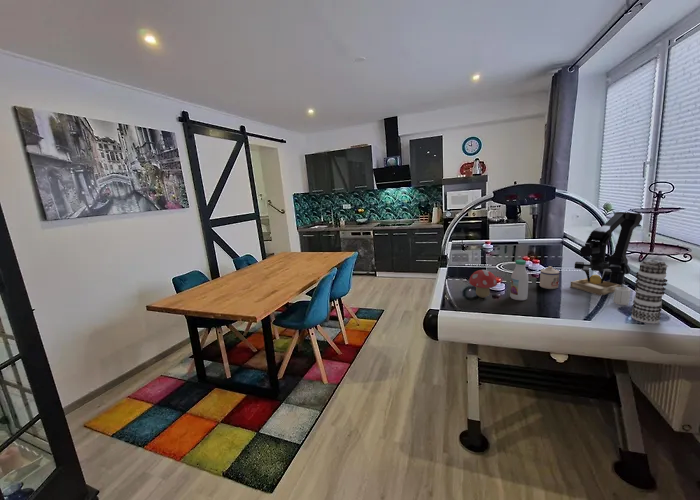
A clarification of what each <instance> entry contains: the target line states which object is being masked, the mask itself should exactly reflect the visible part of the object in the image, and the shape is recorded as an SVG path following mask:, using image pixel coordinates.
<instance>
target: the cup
mask: <svg viewBox="0 0 700 500" xmlns="http://www.w3.org/2000/svg"><path fill="white" fill-rule="evenodd" d="M630 296H631V289H630V288H629V287H628V288H627V287H624V286H623V287H621V286H620V287H616V288H615V291H614V292H613V299H612V302H613V303H614V304H616V305H619V306H628V305H629V304H630Z"/></svg>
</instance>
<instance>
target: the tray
mask: <svg viewBox="0 0 700 500" xmlns="http://www.w3.org/2000/svg"><path fill="white" fill-rule="evenodd" d="M621 285H622V284H621ZM621 285H619V284H614V283H610V282H607V280H606V281H605V280H604V281H603V283H601V282H600V283H599V284H593V283H591V282H590V281H589V282H588V279H587V277H586V278H582V279H577V280H572V281H570V285H569V287H570V288H573V289H575V290H576V289H577V290H579V291H584V292H588V293H591V294H595V295H597V296H605V295H608V294H611V293H614V291H615V288H616V287H621Z"/></svg>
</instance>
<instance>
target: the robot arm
mask: <svg viewBox="0 0 700 500" xmlns="http://www.w3.org/2000/svg"><path fill="white" fill-rule="evenodd" d="M642 220H643V215H642V214H641V213H640V212H630V211H626V210H625V211H622V210H621V211H620V210H618V211H615V212H614V214H613V216H611V218H609V220H607V221H606V222H605V223H604V224H603V225H602V226H599V227H596V228H594V229H593V230H592V231H591V232H590V234H589V236H588V238H587V239H586V241H585V243H584V245H583V246H581V248H579V251H580V254H581V256H583V257H587V258H588V257H590V261H589V264H588V263H587V264H586V263H585V262H584V261H575V263H574V269H575V270H581V271H582V272H584V273H585V275H586V278H587V279H588V282H589V281H590V277H591V275H590V270H591V271H593V272H594V271H595V272H596V271H597V272H603V273H602V276H601V279H602V280H601V283H603V281H605V280H606V278H607V276H608V275H609V274H610V276H609V279H608V280H606V282H610V283H614V284H619V285H626V283H625V282H626V281H625V275H629V274H630V272H631V270H632V269H631V268H630V266H629V265H628V263H629V260H628V257H627V256H626V255H627V252H628V249H629V245H630V242H631V240H632V239H631V238H632V237H633V236H632V235H633V233H634V232H633V231H634V229H636V228H637V227H639V225H640V223H641V222H642ZM619 226H620V231H619V235H618V239H617V242H616V246H615V249H614V252H613V253H612V255H611V254H610V255H609V256H607V260H606V252H607V246H609V245H610V243H609V242H610V240H611V238H612V236H613V234H612V233H613V232H614V230H616V229H617V228H618V227H619Z"/></svg>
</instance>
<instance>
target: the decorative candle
mask: <svg viewBox="0 0 700 500" xmlns="http://www.w3.org/2000/svg"><path fill="white" fill-rule="evenodd" d="M668 267H669V265H668V264H667V263H666V262H665V261H663V260H660V259H648V258H647V259H644V260H642V261H641V262H639V269H638V271H636V272H635V274H636V275H635V278H636V280H635V281H634V282H635V284H634V287H635V288H634V291H635V297H634V300H633V301H632V308H631V315H630V317H631V318H632V319H633V320H635V321H637V322H641V323H645V322H646V323H645V324H659V323H660V321H661V316H662V313H661V312H662V308H663V304H662V302H663V301H662V300H663V299H662V297H664V295H665V291H666V286H667V285H668V279H666V277H667V268H668Z"/></svg>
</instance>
